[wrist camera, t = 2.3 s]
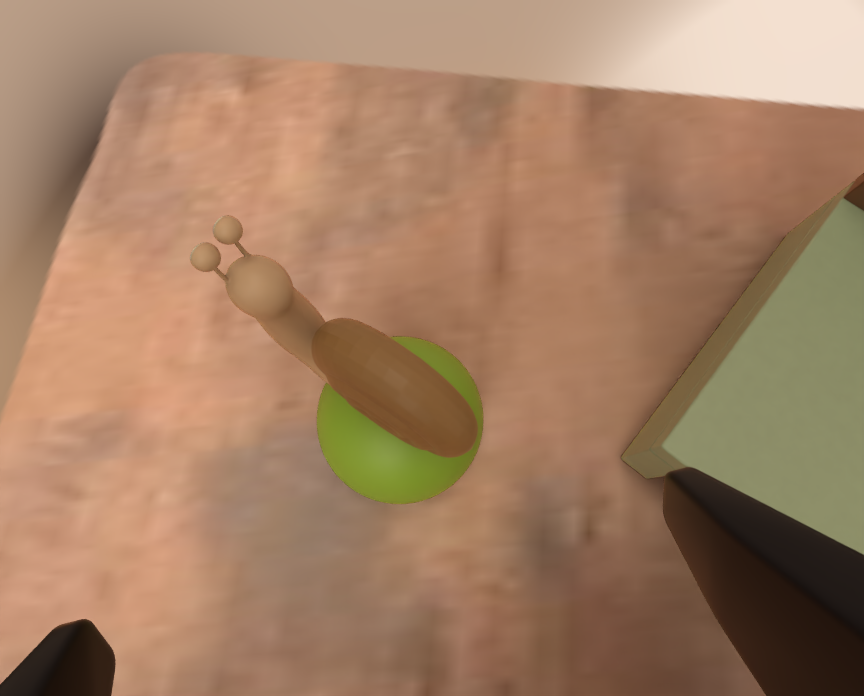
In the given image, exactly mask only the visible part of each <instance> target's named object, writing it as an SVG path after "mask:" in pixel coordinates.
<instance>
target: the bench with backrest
mask: <svg viewBox="0 0 864 696" xmlns="http://www.w3.org/2000/svg"><path fill="white" fill-rule="evenodd" d="M621 459H622V460H623V461H625V462H626V463H627V464H628V465H630V466H631V467H632V468H633V469H635V470H636V471H637V472H638V473H640V474H641V475H642V476H643V477H645V478H646V479H649V478H656V477H662V476H665V475H666V473H668V472H669V471H673V470H677V469H681V468H685V467H693V468H696V469H698V470H700V471H702V472H704V473H706V474H708V475H710V476H712V477H714V478H716V479H717V480H719V481H721V482H723V483H725V484H727V485H729V486H731V487H733V488H735V489H737V490H739V491H741V492H743V493H745V494H747V495H749V496H751V497H753V498H754V499H756V500H758V501H760V502H762V503H764V504H766V505H768V506H770V507H772V508H774V509H776V510H778V511H780V512H782V513H784V514H786V515H788V516H790V517H791V518H793V519H795V520H797V521H799V522H801V523H803V524H805V525H807V526H809V527H811V528H813V529H815V530H817V531H819V532H821V533H823V534H825V535H827V536H828V537H830V538H832V539H834V540H836V541H838V542H840V543H842V544H844V545H846V546H848V547H850V548H852V549H854V550H856V551H858V552H860V553H862V554H863V555H864V173H863V174H862V175H861V176H859V177H858V178H857V179H856V180H855V181H854V182H852V183H851V184H850V185H849V186H847V187H846V188H845V189H843V190H842V191H841V192H840V193H838V194H837V195H836V196H834V197H833V198H832V199H831V200H829V201H828V202H827V203H826V204H824V205H823V206H822V207H820V208H819V209H818V210H817V211H815V212H814V213H813V214H812V215H810V216H809V217H808V218H807V219H805V220H804V221H803V222H802V223H800V224H799V225H798V226H797V227H795V228H794V229H793V230H792V231H790V232H789V233H788V234H787V235H786V236H785V238H784V239H783V241H782V242H781V243H780V245H779V246H778V247H777V249H776V250H775V251H774V253H773V254H772V255H771V257H770V258H769V259H768V261H767V262H766V263H765V265H764V266H763V267H762V269H761V270H760V271H759V273H758V274H757V275H756V277H755V278H754V279H753V281H752V282H751V283H750V285H749V286H748V287H747V289H746V290H745V291H744V293H743V294H742V295H741V297H740V298H739V299H738V301H737V302H736V304H735V305H734V306H733V308H732V309H731V310H730V312H729V313H728V314H727V316H726V317H725V318H724V320H723V321H722V322H721V324H720V325H719V326H718V328H717V329H716V330H715V332H714V333H713V334H712V336H711V337H710V338H709V340H708V341H707V342H706V344H705V345H704V346H703V348H702V349H701V350H700V352H699V353H698V354H697V356H696V357H695V358H694V360H693V361H692V362H691V364H690V365H689V366H688V368H687V369H686V371H685V372H684V373H683V375H682V376H681V377H680V379H679V380H678V381H677V383H676V384H675V385H674V387H673V388H672V389H671V391H670V392H669V393H668V395H667V396H666V397H665V399H664V400H663V401H662V403H661V404H660V405H659V407H658V408H657V409H656V411H655V412H654V413H653V415H652V416H651V417H650V419H649V420H648V421H647V423H646V424H645V425H644V427H643V428H642V429H641V431H640V432H639V433H638V435H637V436H636V438H635V439H634V440H633V442H632V443H631V444H630V446H629V447H628V448H627V450H626V451H625V452H624V454H623V455H622V456H621Z"/></svg>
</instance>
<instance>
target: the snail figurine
mask: <svg viewBox="0 0 864 696" xmlns="http://www.w3.org/2000/svg"><path fill="white" fill-rule="evenodd" d="M242 233H243V229H242V225H241V223H240V222H239V221H238V220H237V219H236V218H235V217H233V216H229V215H227V216H222V217H220V218H219V219H218V220H217V221H216V222H215V224H214V227H213V234H214V236H215V238H216V239H217V240H218V241H219V242H221V243H223V244H228V245H229V244H234V243H235V245H236V246H237V247H238V249H239V250H240V251H241V253H242V254H243V255H244V257H241V258H239V259H237V260H236V261H234V262H233V263H232V264H231V265H230V267H229V268H228V270H227V273H226V275H224V274H223V273H222V272H221V271H220V270H219V269H218V268H217V267H218V266H219V264H220V261H221V255H220V252H219V250H218V249H217V248H216V247H215V246H214V245H212V244H210V243H200V244H198V245H197V246H196V247H195V248H194V249H193V250H192V252H191V255H190V260H191V263H192V265H193V266H194V267H195V268H196V269H197V270H200V271H203V272H209V271H212V270H214V271H215V272H216V273H217V274H218V275H219V276H220V277H221V278H222V279H223V280H224V281H225V284H226V290H227V293H228V295H229V297H230V299H231V300H232V302H233V303H234V304H235V305H236V306H237V307H238V308H239V309H240V310H241V311H243V312H244V313H246V314H248V315H250V316H253V317H255V318H256V319H257V321H258V322H259V323H260V325H261V326H262V327H263V329H264V330H265V331H266V332H267V333H268V334H269V335H270V336H271V337H272V338H273V339H274V340H275V341H276V342H277V343H278V344H279V345H280V346H282V347H283V348H284V349H285V350H287V351H288V352H289V353H291V354H292V355H294V356H295V357H296V358H298V359H299V360H300V361H302V362H303V363H304V364H306V365H307V366H308V367H309V368H310V369H312V370H313V371H314V372H315V373H316V374H317V375H318V376H319V377H320V378H321V379H323V380H324V381H325V382H326V384H325V386H324V388H323V390H322V393H321V396H320V400H319V404H318V410H317V431H318V437H319V442H320V445H321V448H322V451H323V454H324V456H325V458H326V460H327V462H328V463H329V465H330V467H331V468H332V470H333V471H334V472H335V474H336V475H337V476H338V477H339V478H340V479H341V480H342V481H343V482H344V483H345V484H346V485H347V486H349V487H350V488H351V489H353V490H354V491H356V492H357V493H359V494H361V495H363V496H365V497H367V498H370V499H373V500H376V501H379V502H384V503H391V504H408V503H415V502H419V501H423V500H426V499H429V498H432V497H434V496H436V495H438V494H440V493H442V492H443V491H445V490H446V489H448V488H449V487H450V486H452V485H453V484H454V483H455V482H456V481H457V480H458V479H459V478H460V477H461V476H462V475H463V474H464V473H465V471H466V470H467V469H468V467H469V466H470V464H471V463H472V461H473V459H474V457H475V455H476V453H477V450H478V448H479V445H480V441H481V437H482V431H483V408H482V403H481V398H480V395H479V392H478V389H477V387H476V384H475V382H474V380H473V379H472V377H471V375H470V374H469V372H468V371H467V369H466V368H465V367H464V366H463V364H462V363H461V362H460V361H459V360H458V359H457V358H456V357H454V356H453V355H452V354H451V353H449V352H448V351H447V350H445V349H444V348H442V347H440V346H438V345H436V344H434V343H431V342H429V341H426V340H423V339H419V338H414V337H403V336H399V337H388V336H387V335H385V334H383V333H382V332H380V331H378V330H376V329H374V328H372V327H371V326H369V325H366V324H364V323H362V322H359V321H356V320H353V319H346V318H338V319H333V320H331V321H328V322H325V320H324V319H323V318H322V316H321V315H320V313H319V312H318V311H317V310H316V308H315V307H314V306H313V305H312V304H311V303H310V302H309V301H308V300H307V299H306V298H305V297H304V296H303V295H302V294H301V293H300V292H298V291H297V290H296V289H295V288H294V287H293V284H292V281H291V279H290V276H289V275H288V273H287V272H286V270H285V269H284V268H283V267H282V266H281V265H280V264H279V263H277V262H276V261H274V260H272V259H270V258H268V257H265V256H260V255H250V254H249V253H248V252H247V251H246V250H245V249H244V248H243V247H242V246H241V244H240V243H239V242H238V241H239V240H240V238H241V236H242Z"/></svg>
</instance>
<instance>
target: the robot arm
mask: <svg viewBox="0 0 864 696" xmlns="http://www.w3.org/2000/svg"><path fill="white" fill-rule="evenodd" d="M663 513H664V517H665V520H666V523H667V525H668V527H669V529H670V531H671V533H672V535H673V537H674V539H675V541H676V543H677V545H678V547H679V549H680V551H681V553H682V554H683V556H684V558H685V560H686V562H687V564H688V566H689V568H690V570H691V572H692V574H693V576H694V578H695V580H696V582H697V584H698V586H699V587H700V589H701V591H702V593H703V595H704V597H705V599H706V601H707V603H708V605H709V606H710V608H711V610H712V612H713V614H714V615H715V617H716V619H717V620H718V622H719V624H720V625H721V627H722V628H723V630H724V632H725V633H726V635H727V636H728V638H729V639H730V641H731V642H732V644H733V645H734V647H735V648H736V650H737V652H738V653H739V655H740V656H741V658H742V659H743V661H744V662H745V664H746V665H747V667H748V668H749V670H750V671H751V673H752V675H753V676H754V678H755V679H756V681H757V682H758V684H759V685H760V687H761V688H762V690H763V691H764V693H765V694H766V696H864V555H863V554H862V553H860V552H858V551H856V550H854V549H852V548H850V547H848V546H846V545H844V544H842V543H840V542H838V541H836V540H834V539H832V538H830V537H828V536H827V535H825V534H823V533H821V532H819V531H817V530H815V529H813V528H811V527H809V526H807V525H805V524H803V523H801V522H799V521H797V520H795V519H793V518H791V517H790V516H788V515H786V514H784V513H782V512H780V511H778V510H776V509H774V508H772V507H770V506H768V505H766V504H764V503H762V502H760V501H758V500H756V499H754V498H753V497H751V496H749V495H747V494H745V493H743V492H741V491H739V490H737V489H735V488H733V487H731V486H729V485H727V484H725V483H723V482H721V481H719V480H717V479H716V478H714V477H712V476H710V475H708V474H706V473H704V472H702V471H700V470H698V469H696V468H693V467H685V468H681V469H677V470H673V471H669V472H668V473H666V475H665V477H664V493H663ZM114 673H115V655H114V652H113V650H112V648H111V647H110V645H109V644H108V643H107V641H106V640H105V639H104V637H103V636H102V635H101V633H100V632H99V631H98V629H97V628H96V627H95V625H94V624H93V623H92V622H91V621H89V620H87V619H81V620H77V621H73V622H69V623H66V624H62V625H59V626H57V627H56V628H54V629H53V630H52V631H51V632H50V633H49V634H48V635H47V636H46V637H45V638H44V639H43V640H42V641H41V642H40V644H39V645H38V646H37V647H36V648H35V649H34V650H33V651H32V652H31V653H30V654H29V655H28V656H27V657H26V658H25V659H24V660H23V661H22V662H21V663H20V664H19V666H18V667H17V668H16V669H15V670H14V671H13V672H12V673H11V674H10V675H9V676H8V677H7V678H6V679H5V680H4V681H3V682H2V683H1V684H0V696H111V693H112V687H113V680H114Z"/></svg>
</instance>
